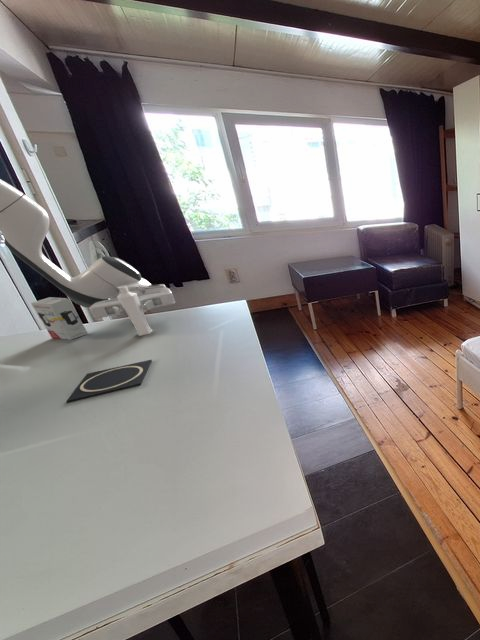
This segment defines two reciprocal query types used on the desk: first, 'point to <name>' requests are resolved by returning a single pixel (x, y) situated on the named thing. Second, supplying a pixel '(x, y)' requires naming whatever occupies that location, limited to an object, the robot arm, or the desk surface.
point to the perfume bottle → (134, 310)
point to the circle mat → (110, 380)
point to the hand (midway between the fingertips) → (133, 309)
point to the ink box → (59, 318)
